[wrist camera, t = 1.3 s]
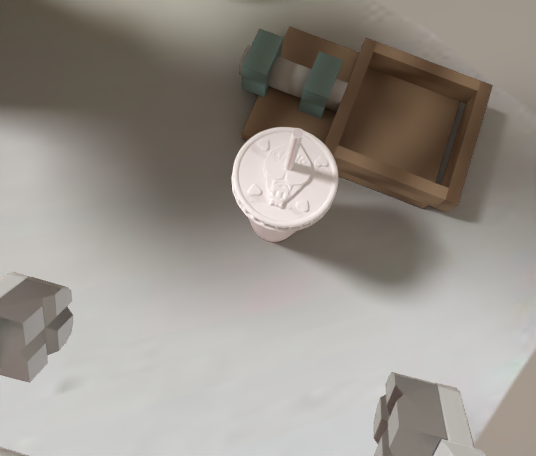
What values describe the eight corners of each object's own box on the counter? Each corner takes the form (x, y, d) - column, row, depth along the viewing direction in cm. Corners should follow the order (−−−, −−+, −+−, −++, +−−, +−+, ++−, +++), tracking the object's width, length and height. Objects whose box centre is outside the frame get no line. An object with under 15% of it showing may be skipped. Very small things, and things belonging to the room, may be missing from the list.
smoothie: (322, 194, 36) (372, 106, 23) (301, 269, 35) (341, 222, 21) (247, 171, 36) (251, 70, 23) (222, 245, 35) (211, 182, 21)
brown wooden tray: (219, 129, 37) (216, 103, 33) (267, 26, 40) (270, -10, 36) (440, 215, 36) (465, 199, 32) (473, 104, 39) (500, 76, 35)
